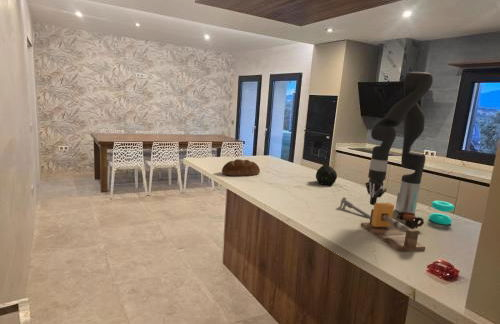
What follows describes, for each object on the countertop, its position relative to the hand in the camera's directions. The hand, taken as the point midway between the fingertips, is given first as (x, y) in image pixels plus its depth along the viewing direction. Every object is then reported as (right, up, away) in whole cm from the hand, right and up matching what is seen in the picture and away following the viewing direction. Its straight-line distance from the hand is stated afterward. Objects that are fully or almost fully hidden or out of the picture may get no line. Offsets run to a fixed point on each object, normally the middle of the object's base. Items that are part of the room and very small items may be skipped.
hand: (372, 204), depth 149 cm
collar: (+1, -9, -6) cm, 11 cm away
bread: (-65, +11, +86) cm, 108 cm away
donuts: (+39, -11, +12) cm, 42 cm away
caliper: (-2, -7, +17) cm, 18 cm away
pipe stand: (+3, -12, -12) cm, 18 cm away
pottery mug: (+18, -11, +1) cm, 21 cm away
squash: (-4, +5, +75) cm, 75 cm away
